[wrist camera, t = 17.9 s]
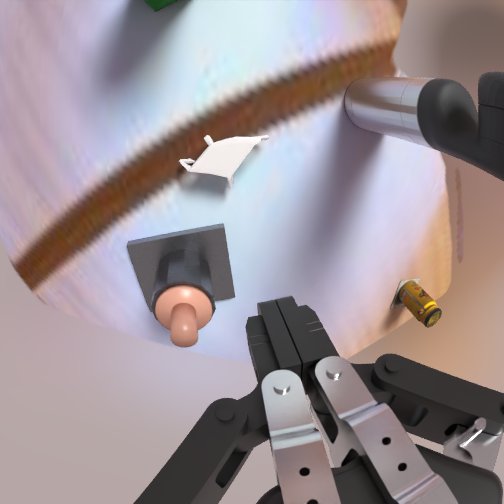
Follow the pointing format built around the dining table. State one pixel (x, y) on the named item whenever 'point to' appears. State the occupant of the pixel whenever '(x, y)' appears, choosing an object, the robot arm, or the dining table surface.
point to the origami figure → (223, 156)
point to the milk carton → (159, 3)
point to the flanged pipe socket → (184, 263)
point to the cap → (183, 313)
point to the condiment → (417, 302)
